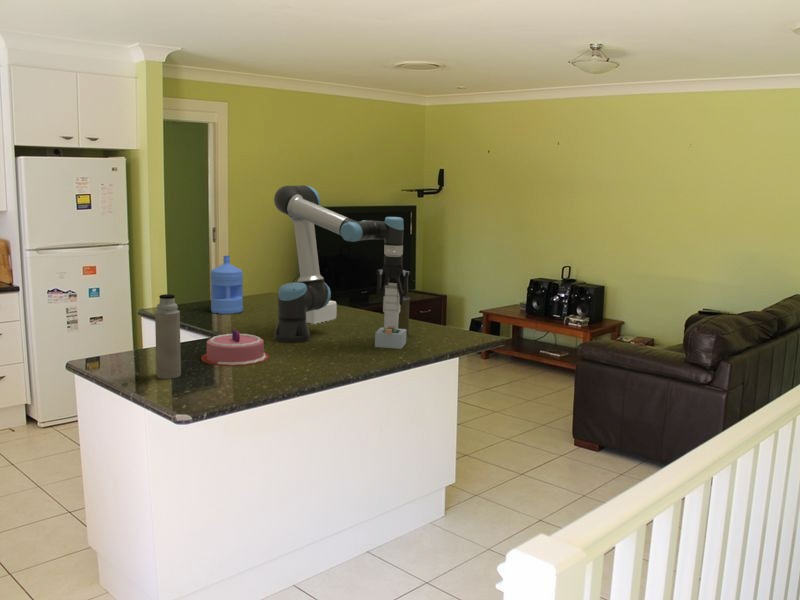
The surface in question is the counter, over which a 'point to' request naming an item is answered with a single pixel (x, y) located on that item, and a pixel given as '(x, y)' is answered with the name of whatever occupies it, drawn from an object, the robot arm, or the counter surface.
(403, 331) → the stand base
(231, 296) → the water jug
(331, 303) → the white box
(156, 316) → the thermos bottle
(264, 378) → the counter surface
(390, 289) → the column
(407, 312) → the canister
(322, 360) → the counter surface
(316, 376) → the counter surface
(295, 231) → the robot arm
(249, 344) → the cake
